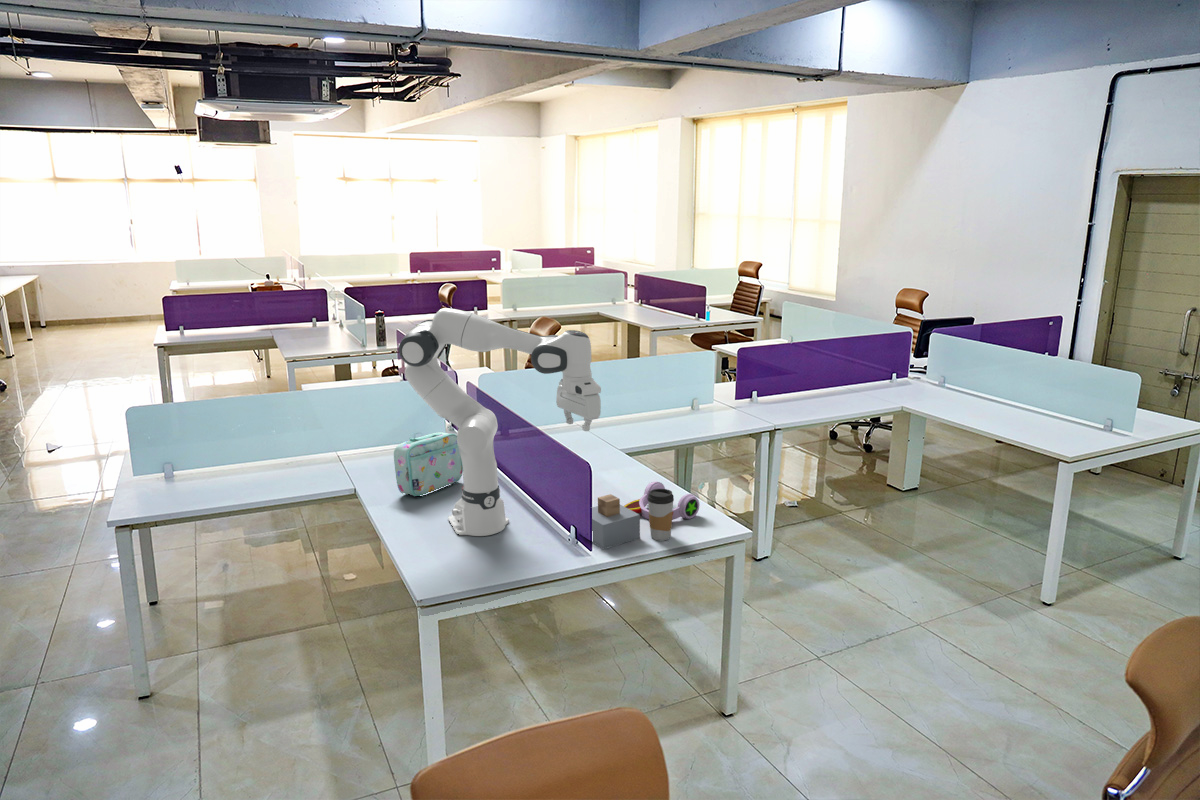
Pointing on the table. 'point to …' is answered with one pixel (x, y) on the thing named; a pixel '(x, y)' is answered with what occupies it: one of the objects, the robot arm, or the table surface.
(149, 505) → the table surface
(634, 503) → the headphones
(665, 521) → the coffee cup
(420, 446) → the lunch box
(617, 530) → the desk box
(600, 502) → the walnut block
